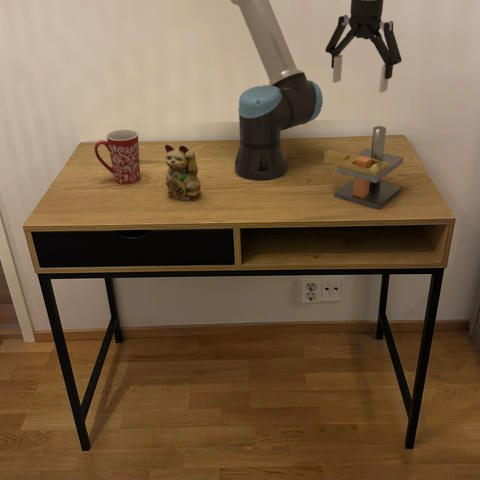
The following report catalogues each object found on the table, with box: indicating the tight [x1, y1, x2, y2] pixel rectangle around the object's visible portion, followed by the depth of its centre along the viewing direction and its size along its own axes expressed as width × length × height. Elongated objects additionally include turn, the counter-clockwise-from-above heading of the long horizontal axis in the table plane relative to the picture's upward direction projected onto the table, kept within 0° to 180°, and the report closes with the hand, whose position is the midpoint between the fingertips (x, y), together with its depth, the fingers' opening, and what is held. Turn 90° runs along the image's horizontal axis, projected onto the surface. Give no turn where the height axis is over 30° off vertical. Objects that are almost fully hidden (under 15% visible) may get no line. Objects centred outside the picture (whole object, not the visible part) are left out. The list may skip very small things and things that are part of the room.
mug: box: [94, 128, 141, 185], centre depth 166 cm, size 13×9×14 cm
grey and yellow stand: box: [323, 125, 405, 210], centre depth 154 cm, size 18×16×17 cm
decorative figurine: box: [164, 143, 201, 201], centre depth 156 cm, size 10×8×15 cm
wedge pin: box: [353, 156, 372, 198], centre depth 152 cm, size 3×3×10 cm
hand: (359, 86), depth 150 cm, fingers open, 13 cm apart
